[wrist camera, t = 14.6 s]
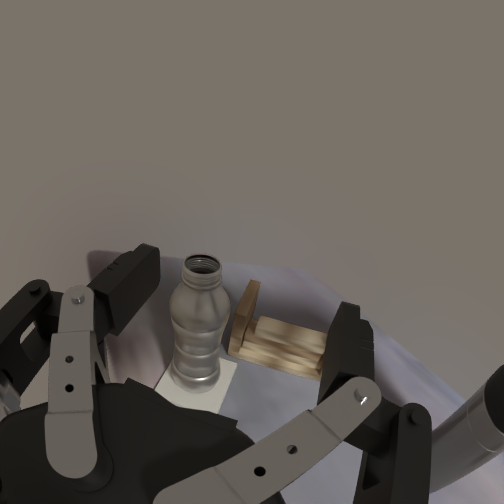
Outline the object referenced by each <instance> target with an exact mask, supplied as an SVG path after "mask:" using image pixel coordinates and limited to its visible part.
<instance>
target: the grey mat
mask: <svg viewBox="0 0 504 504" xmlns="http://www.w3.org/2000/svg"><path fill="white" fill-rule="evenodd" d="M219 361H220V368H221V374H220V378H219V380H218V382H217V384H216V385H215V386H214V387H213V388H212V389H211V390H209V391H207V392H204V393H190V392H187V391H184V390H183V389H181V388H180V387H179V386H178V385H177V384H176V383H175V381H174V379H173V377H172V374H171V363H170V365H169V366H168V368H167V370H166V371H165V373H164V375H163V377H162V378H161V380H160V382H159V383H158V385H157V387H156V388H155V391H156V392H158V393H159V394H160V395H162V396H163V397H164V398H166V399H167V400H168V401H170V402H171V403H172V404H174V405H176V406H178V407H183V408H190V409H197V410H204V411H210V412H213V413H216V414H218V412H219V410H220V407H221V405H222V402H223V400H224V397H225V395H226V392H227V390H228V387H229V385H230V382H231V380H232V377H233V375H234V372H235V370H236V367H237V363H234V362H231V361H228V360H225V359H222V358H219ZM171 362H172V361H171Z"/></svg>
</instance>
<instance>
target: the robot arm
mask: <svg viewBox="0 0 504 504" xmlns="http://www.w3.org/2000/svg"><path fill="white" fill-rule="evenodd" d="M159 282H160V251H159V249H158V248H157V247H153V246H151V245H147V244H144V243H143V244H141V245H139V246H138V247H137V248H136V249H135V250H134V251H133V252H132V251H128V252H126V253H124V254H122V255H120V256H119V257H118V258H116V259H115V260H114V261H113V263H111V264H110V265H109V266H108V267H107V269H106V268H105V269H104V270H103V271H102V272H101V273H100V274H99V275H98V276H97V277H96V278H95V279H94V280H93V281H91V282H90V283H89V284H88V285H87V286H75V287H72V288H70V289H68V290H67V291H66V292H65V293H61V292H53V291H51V290H50V287H49V284H48V283H47V282H46V281H45V280H39V279H38V280H33V281H31V282H29V283H27V284H26V285H25V286H24V287H23V288H22V289H21V290H20V291H19V292H18V293H17V294H16V295H15V296H13V297H12V299H10V300H9V302H7V303H6V305H4V307H3V308H2V309H1V310H0V504H286V503H285V501H284V499H283V497H282V495H281V493H280V491H281V490H282V489H284V488H285V487H286V486H288V485H289V484H291V483H292V482H293V481H295V480H296V479H297V478H299V477H300V476H301V475H303V474H304V473H305V472H306V471H308V470H309V469H310V468H311V467H313V466H314V465H315V464H316V463H318V462H319V461H320V460H321V459H322V458H324V457H325V456H326V455H327V454H328V453H330V452H331V451H332V450H333V449H334V448H335V447H337V446H338V445H339V444H340V443H341V442H342V441H345V442H347V443H349V444H351V445H353V446H355V447H357V448H359V449H361V450H363V454H362V460H361V466H360V471H359V476H358V482H357V486H356V491H355V496H354V500H353V504H428V500H429V493H432V492H435V491H437V490H439V489H441V488H443V487H445V486H447V485H449V484H451V483H453V482H455V481H457V480H458V479H460V478H462V477H464V476H466V475H467V474H469V473H471V472H472V471H474V470H476V469H477V468H479V467H480V466H482V465H484V464H485V463H487V462H488V461H490V460H491V459H493V458H494V457H496V456H497V455H499V454H500V453H501V452H503V451H504V365H502V366H501V367H499V368H498V370H496V371H495V373H494V374H493V375H492V376H491V377H490V378H489V379H488V380H487V381H486V382H485V383H484V385H482V386H481V387H480V388H479V390H477V392H475V394H474V395H473V396H472V397H471V398H470V399H468V400H467V401H466V402H465V403H464V404H463V405H462V406H461V407H460V408H459V409H458V410H457V411H456V412H454V413H453V414H452V415H451V416H450V417H449V418H448V419H447V420H445V421H444V422H443V423H442V424H441V425H439V426H438V427H437V428H436V429H435V430H433V431H432V422H431V416H430V414H429V412H428V411H427V409H426V408H425V407H423V406H422V405H420V404H417V403H408V404H406V405H404V406H403V407H399V406H397V405H395V404H393V403H391V402H389V401H388V400H386V399H385V398H383V397H382V396H381V391H380V389H379V387H378V386H377V384H376V383H375V381H374V351H373V350H374V343H373V341H374V340H373V330H372V328H371V326H370V324H369V322H368V321H366V320H363V319H360V306H358V305H355V304H351V303H347V302H343V301H342V302H341V304H340V306H339V308H338V311H337V313H336V315H335V317H334V320H333V322H332V324H331V326H330V329H329V331H328V335H327V339H326V346H325V353H324V361H323V368H322V375H321V382H320V388H319V395H318V401H317V406H316V407H315V408H314V409H312V410H306V411H304V412H302V413H301V414H299V415H298V416H297V417H295V418H294V419H292V420H291V421H289V422H288V423H287V424H285V425H284V426H282V427H281V428H279V429H278V430H276V431H275V432H273V433H272V434H270V435H268V436H267V437H265V438H264V439H262V440H261V441H259V442H257V443H256V444H255V443H254V442H253V440H252V439H250V438H249V437H248V436H247V435H246V434H245V433H243V432H242V431H240V430H239V429H237V428H236V425H237V422H238V421H237V420H234V419H231V418H228V417H225V416H222V415H219V414H216V413H213V412H210V411H204V410H197V409H190V408H183V407H178V406H176V405H174V404H172V403H171V402H170V401H168V400H167V399H166V398H164V397H163V396H162V395H160V394H159V393H158V392H156V391H155V390H154V389H152V388H150V387H148V386H145V385H143V384H141V383H139V382H137V381H135V380H133V379H130V378H127V380H126V381H125V383H124V384H121V383H111V382H110V378H109V373H108V362H107V349H106V338H105V336H106V335H107V334H108V332H109V333H111V334H113V335H115V336H118V335H119V334H120V333H121V331H122V330H123V329H124V328H125V326H126V325H127V324H128V323H129V321H130V320H131V319H132V318H133V316H134V315H135V314H136V313H137V312H138V310H139V309H140V308H141V307H142V305H143V304H144V303H145V302H146V301H147V299H148V298H149V297H150V296H151V294H152V293H153V292H154V291H155V290H156V288H157V287H158V284H159ZM32 322H33V323H34V325H35V328H34V329H33V330H32V331H31V333H30V334H29V335H28V336H27V337H26V338H25V340H24V341H23V342H22V343H21V344H20V337H21V335H22V333H23V332H24V331H25V330H26V329H27V327H28V326H29V325H30V324H31V323H32ZM49 357H50V361H49V383H48V384H49V387H48V402H45V403H42V404H39V405H36V406H33V407H30V408H26V409H23V410H21V408H20V407H19V405H20V396H21V395H22V393H23V392H24V391H25V389H26V388H27V387H28V385H29V384H30V382H31V381H32V379H33V378H34V377H35V375H36V374H37V373H38V371H39V370H40V369H41V367H42V366H43V365H44V363H45V362H46V360H47V359H48V358H49Z"/></svg>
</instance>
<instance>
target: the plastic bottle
mask: <svg viewBox="0 0 504 504" xmlns="http://www.w3.org/2000/svg"><path fill="white" fill-rule="evenodd" d="M221 270H222V265H221V262H220V261H219V259H217V258H216V257H214V256H212V255H209V254H204V253H196V254H191V255H189V256H187V257H186V258H185V259H184V261H183V271H182V282H181V283H180V284H179V285H178V286H177V287H176V288H175V289H174V291H173V293H172V295H171V298H170V300H169V311H170V316H171V320H172V325H173V330H174V341H175V347H174V355H173V358H172V362H171V374H172V377H173V379H174V381H175V383H176V384H177V385H178V386H179V387H180V388H181V389H183V390H184V391H187V392H190V393H204V392H207V391H209V390H211V389H212V388H213V387H214V386H215V385H216V384H217V382H218V380H219V378H220V374H221V368H220V361H219V347H220V343H221V339H222V335H223V332H224V329H225V327H226V324H227V322H228V319H229V316H230V312H231V304H230V299H229V296H228V294H227V293H226V291H225V290H224V289H223V287H222V286H221V285H220V284H221V281H222V275H221Z"/></svg>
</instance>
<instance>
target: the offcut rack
mask: <svg viewBox="0 0 504 504" xmlns="http://www.w3.org/2000/svg"><path fill="white" fill-rule="evenodd" d="M260 283H261V282H258V281H255V280H251V279H250V282H249V284H248V286H247V288H246V290H245V292H244V294H243V296H242V299H241V301H240V303H239V305H238V307H237V309H236V311H235V314H234V320H233V326H232V332H231V338H230V343H229V349H228V355H230V356H233V357H236V358H239V359H243V360H246V361H249V362H252V363H256V364H259V365H262V366H266V367H269V368H273V369H276V370H280V371H283V372H287V373H291V374H295V375H298V376H302V377H306V378H310V379H314V380H318V381H321V375H322V368H323V361H324V353H325V346H326V339H327V335H328V334H326V333H323V332H319V331H315V330H311V329H308V328H304V327H300V326H297V325H293V324H290V323H286V322H283V321H279V320H276V319H272V318H269V317H265V316H262V315H260V318H259V321H257V320H254V319H252V318H253V313H254V309H255V305H256V300H257V296H258V292H259V287H260Z"/></svg>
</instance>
